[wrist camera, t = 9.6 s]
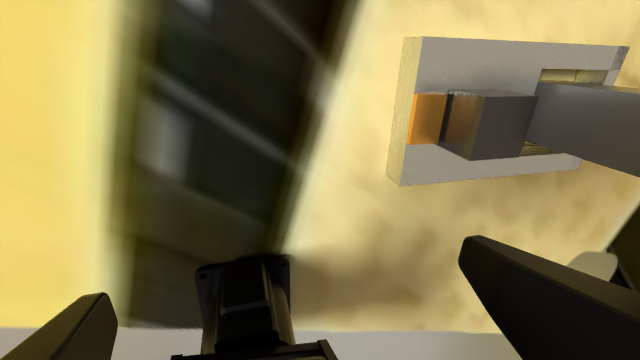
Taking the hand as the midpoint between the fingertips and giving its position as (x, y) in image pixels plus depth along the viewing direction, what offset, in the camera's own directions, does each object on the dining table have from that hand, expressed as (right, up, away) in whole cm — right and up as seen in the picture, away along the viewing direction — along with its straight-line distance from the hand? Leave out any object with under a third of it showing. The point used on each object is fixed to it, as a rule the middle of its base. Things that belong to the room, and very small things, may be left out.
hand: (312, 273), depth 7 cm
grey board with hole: (+13, +7, +14) cm, 20 cm away
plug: (+17, +8, +15) cm, 24 cm away
